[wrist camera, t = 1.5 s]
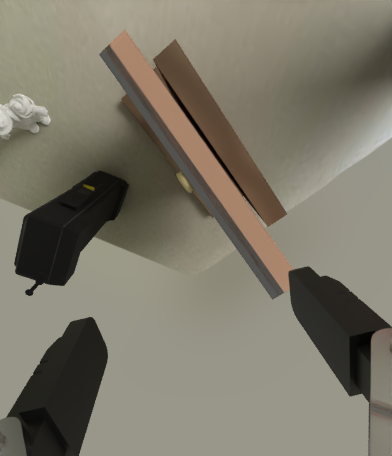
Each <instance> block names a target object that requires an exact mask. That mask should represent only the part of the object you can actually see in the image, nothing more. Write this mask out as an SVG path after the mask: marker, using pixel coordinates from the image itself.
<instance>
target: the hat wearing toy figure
mask: <svg viewBox="0 0 392 456" xmlns="http://www.w3.org/2000/svg"><path fill="white" fill-rule="evenodd" d="M16 96H17V97H16ZM12 97H16V98H13V99H12V100H10V102H9V103H7V104H5V105H4V106H3V105H0V136H1V138H3V139H6V140H8V139H9V137H10V135H9V134H8V133H9V132H10V131H11V129H14V128H19V129H24V130H30V131H31V132H32V133H38V132H39V126H38V124H36V122H41V123H42V124H44V125H49V124H50V122H51V119H50V117H49V115H48V111H47V109H46V108H45V107H43V106H36V105H35V104H34V102H33V101H32V100H31V99H30V98H29V97H27V96H24V95H22V94H15V95H13V96H12ZM27 98H28V99H29V100H30V101H31V102H32V103H33V104H30V102H29V100H28V99H27ZM8 136H9V137H8Z"/></svg>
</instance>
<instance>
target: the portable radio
mask: <svg viewBox="0 0 392 456" xmlns="http://www.w3.org/2000/svg"><path fill="white" fill-rule="evenodd" d="M128 186H129V184H127V183H126V182H125V181H124V180H122V179H120V178H117V177H115V176H112V175H110V174H107V173H105V172H103V171H97V172H94V173H93V174H91V175H90V176H89V177H87V178H86V179H85V180H83V181H81V182H80V183H78V184H77V185H75V186H73V188H72V189H70V190H68V191H67V192H65V193H63V194H62V195H60V196H58V197H56V198H55V199H53V200H51V201H50V202H48V203H46V204H44V205H43V206H41V207H39V208H37V209H36V210H34V211H32V212H30V213H29V214H27V215H26V216H25V217H24V219H23V224H22V229H21V234H20V238H19V243H18V248H17V253H16V258H15V263H14V264H15V266H16V270H15V272H16V274H18V275H21V276H24V277H27V278H30V279H33V280H36V284H35V285H34V286H33V287H32V288H31V289H28V290H26V291H25V293H26V295H28V296H31V295H33V291H34V290H35V289H36V288H37V286H38V285H42V284H43V283H45V284H50V285H59V286H64V285H65V284H66V283H67V281H68V280H69V279H70V277H71V276H72V275H73V273H74V271H75V268H76V265H77V261H78V258H79V255H80V252H81V251H82V250H83V249H84V247H85V246H86V245H87V244H88V243H89V242H90V240H91V239H92V238H93V237H94V236H95V234H96V233H97V232H98V231H99V230H100V228H101V227H102V226H103V225H104V224H105V223H106V222H107V221H110V220H115V218H116V217H117V216H118V214H119V212H120V209H121V206H122V203H123V200H124V198H125V195H126V192H127V189H128Z"/></svg>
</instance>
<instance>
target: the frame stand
mask: <svg viewBox="0 0 392 456" xmlns="http://www.w3.org/2000/svg"><path fill="white" fill-rule="evenodd" d="M153 60H154V62H155V64H156V66H157V68H155V69H154V72H155V73H156V75H157V76H158V77H159V79H160V80H161V82H162V83H163V85H164V86H165V87H166V89H167V90H168V92H169V93H170V95H171V96H172V97H173V99H174V100H175V102H176V103H177V104H178V106H179V107H180V109H181V110H182V112H183V113H184V114H185V116H186V117H187V119H188V120H189V122H190V123H191V124H192V126H193V127H194V129H195V130H196V131H197V133H198V134H199V136H200V137H201V139H202V140H203V141H204V143H205V144H206V146H207V147H208V149H209V150H210V151H211V153H212V154H213V156H214V157H215V158H216V160H217V161H218V163H219V164H220V166H221V167H222V168H223V170H224V171H225V173H226V174H227V176H228V177H229V178H230V180H231V181H232V183H233V184H234V185H235V187H236V188H237V190H238V191H239V193H240V194H241V195H242V197H243V196H244V197H245V198H246V200H247V201H248V202H249V203H250V205H251V206H252V207H253V208H254V210H255V211H256V212H257V213H258V215H259V216H260V217H261V218H262V220H263V221H264V222H265V224H266V225H267V226H270V225H271V224H273V223H274V222H276V221H277V220H279V219H280V218H282V217H284V216H285V215H287V213H286V211H285V210H284V208H283V207H282V205H281V203H280V202H279V200H278V199H277V197H276V196H275V194H274V193H273V191H272V189H271V188H270V186H269V185H268V183H267V182H266V180H265V178H264V177H263V175H262V174H261V172H260V171H259V169H258V168H257V166H256V164H255V163H254V161H253V160H252V158H251V157H250V155H249V154H248V152H247V150H246V149H245V147H244V146H243V144H242V143H241V141H240V139H239V138H238V136H237V135H236V133H235V132H234V130H233V129H232V127H231V125H230V124H229V122H228V121H227V119H226V118H225V116H224V114H223V113H222V111H221V110H220V108H219V107H218V105H217V104H216V102H215V100H214V99H213V97H212V96H211V94H210V93H209V91H208V89H207V88H206V86H205V85H204V83H203V82H202V80H201V79H200V77H199V75H198V74H197V72H196V71H195V69H194V68H193V66H192V65H191V63H190V61H189V60H188V58H187V57H186V55H185V54H184V52H183V50H182V49H181V47H180V46H179V44H178V43H177V41H176V40H174V41H173V42H172V43H171V44H170V45H168V46H167V47H166V48H165V49H164V50H163V51H162V52H161V53H160V54H159V55H158V56H156V57H155V58H154V59H153ZM121 100H122V101H123V102H124V104H125V105H126V106H127V108H128V109H129V110H130V112H131V113H132V114H133V115H134V117H135V118H136V119H137V121H138V122H139V123H140V124H141V126H142V127H143V128H144V130H145V131H146V132H147V134H148V135H149V136H150V137H151V139H152V140H153V141H154V143H155V144H156V145H157V146H158V148H159V149H160V150H161V152H162V153H163V154H164V156H165V157H166V158H167V159H168V161H169V162H170V163H171V165H172V166H173V167H174V168H175V170H176V171H177V172H178V173H179V172H180V171H181V169H180V168H179V166H178V165H177V164H176V162H175V161H174V159H173V158H172V157H171V155H170V154H169V152H168V151H167V150H166V148H165V147H164V145H163V144H162V142H161V141H160V140H159V138H158V137H157V135H156V134H155V133H154V131H153V130H152V128H151V127H150V125H149V124H148V123H147V121H146V120H145V118H144V117H143V116H142V114H141V113H140V111H139V110H138V109H137V107H136V106H135V104H134V103H133V101H132V100H131V99H130V97H129V96H128V94H127V95H126V96H124V97H123V98H122V99H121ZM192 192H193V193H194V194H195V196H196V197H197V198H198V200H199V201H200V202H201V203H202V205H203V206H204V207H205V209H206V210H207V211H208V212H209V214H210V215H211V216H212V218H213V217H214V216H213V215H212V213H211V212H210V210H209V209H208V207H207V206H206V205H205V203H204V202H203V200H202V199H201V198H200V196H199V195H198V193H197V192H196V190H194V191H192Z"/></svg>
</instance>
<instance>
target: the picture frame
mask: <svg viewBox="0 0 392 456" xmlns="http://www.w3.org/2000/svg"><path fill="white" fill-rule="evenodd" d="M99 55H100V56H101V58H102V59H103V61H104V62H105V63H106V65H107V66H108V68H109V69H110V70H111V72H112V73H113V75H114V76H115V77H116V79H117V80H118V82H119V83H120V85H121V86H122V87H123V89H124V90H125V92H126V93H127V94H128V96H129V97H130V99H131V100H132V101H133V103H134V104H135V106H136V107H137V109H138V110H139V111H140V113H141V114H142V116H143V117H144V118H145V120H146V121H147V123H148V124H149V125H150V127H151V128H152V130H153V131H154V133H155V134H156V135H157V137H158V138H159V140H160V141H161V142H162V144H163V145H164V147H165V148H166V150H167V151H168V152H169V154H170V155H171V157H172V158H173V159H174V161H175V162H176V164H177V165H178V166H179V168H180V169H181V171H180V172H179V173H177V174H176V176H177V178H178V180H179V181H180V183H181V184H182V186H183V187H184V188H185V189H186V190H187V191H188V192H189V193H191V192H192V191H194V190H196V192H197V193H198V195H199V196H200V198H201V199H202V200H203V202H204V203H205V205H206V206H207V207H208V209H209V210H210V212H211V213H212V215H213V216H214V217H215V219H216V220H217V222H218V223H219V224H220V226H221V227H222V229H223V230H224V231H225V233H226V234H227V236H228V237H229V239H230V240H231V241H232V243H233V244H234V246H235V247H236V248H237V250H238V251H239V252H240V254H241V255H242V257H243V258H244V260H245V261H246V263H247V264H248V265H249V267H250V268H251V270H252V271H253V272H254V274H255V275H256V277H257V278H258V279H259V281H260V282H261V284H262V285H263V287H264V288H265V289H266V291H267V292H268V294H269V295H270V296H271V298H272V299H274V298H276V297H278V296H279V295H281V294H283V293H284V292H286V291H288V290H290V287H289V277H288V273H289V271H290V270H294V269H293V268H292V267H291V265H290V264H289V262H288V261H287V259H286V258H285V257H284V255H283V254H282V253H281V251H280V250H279V248H278V247H277V245H276V244H275V242H274V241H273V240H272V238H271V237H270V235H269V234H268V232H267V231H266V230H265V228H264V227H263V225H262V224H261V222H260V221H259V220H258V218H257V217H256V215H255V214H254V213H253V211H252V210H251V208H250V207H249V205H248V204H247V203H246V201H245V200H244V198H243V197H242V195H241V194H240V193H239V191H238V190H237V188H236V187H235V185H234V184H233V183H232V181H231V180H230V178H229V177H228V176H227V174H226V173H225V171H224V170H223V168H222V167H221V166H220V164H219V163H218V161H217V160H216V158H215V157H214V156H213V154H212V153H211V151H210V150H209V149H208V147H207V146H206V144H205V143H204V141H203V140H202V139H201V137H200V136H199V134H198V133H197V131H196V130H195V129H194V127H193V126H192V124H191V123H190V122H189V120H188V119H187V117H186V116H185V114H184V113H183V112H182V110H181V109H180V107H179V106H178V104H177V103H176V102H175V100H174V99H173V97H172V96H171V95H170V93H169V92H168V90H167V89H166V87H165V86H164V85H163V83H162V82H161V80H160V79H159V77H158V76H157V75H156V73H155V72H154V70H153V69H152V68H151V66H150V65H149V63H148V62H147V60H146V59H145V58H144V56H143V55H142V53H141V52H140V50H139V49H138V48H137V46H136V45H135V43H134V42H133V41H132V39H131V38H130V36H129V35H128V33H127V32H126V31H125V30H124V31H123V32H122V33H121V34H120V35H119V36H118V37H117V38H116V39H115V40H114V41H113V42H111V43H110V44H109V45H108V46H107V47H106V48H105V49H104V50H103V51H102V52H101V53H100V54H99Z"/></svg>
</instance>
